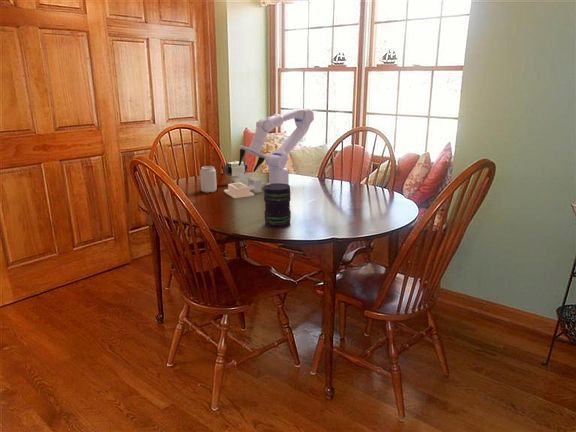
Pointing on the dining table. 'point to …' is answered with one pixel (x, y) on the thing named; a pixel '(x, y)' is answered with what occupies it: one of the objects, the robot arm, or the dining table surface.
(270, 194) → the storage jar
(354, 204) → the dining table surface
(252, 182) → the grey block
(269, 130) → the robot arm
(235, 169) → the pneumatic valve
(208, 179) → the can
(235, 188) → the hollow block
